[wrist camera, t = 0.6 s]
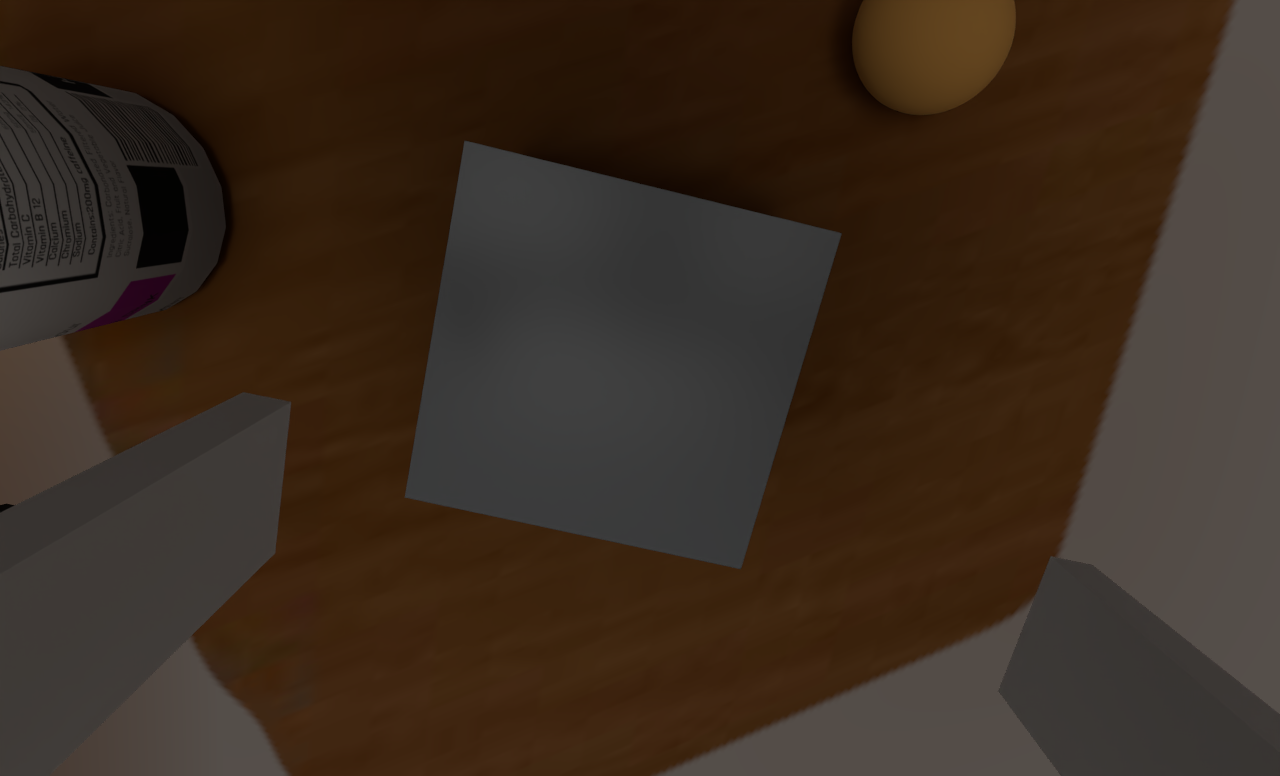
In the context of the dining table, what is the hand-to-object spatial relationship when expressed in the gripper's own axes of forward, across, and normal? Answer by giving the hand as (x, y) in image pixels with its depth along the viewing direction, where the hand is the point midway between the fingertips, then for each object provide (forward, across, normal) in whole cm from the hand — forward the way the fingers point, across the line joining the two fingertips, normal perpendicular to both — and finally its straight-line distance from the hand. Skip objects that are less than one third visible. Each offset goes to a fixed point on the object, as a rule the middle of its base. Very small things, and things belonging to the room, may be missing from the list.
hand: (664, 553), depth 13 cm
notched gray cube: (+17, -1, +1) cm, 18 cm away
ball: (+15, +7, +13) cm, 21 cm away
